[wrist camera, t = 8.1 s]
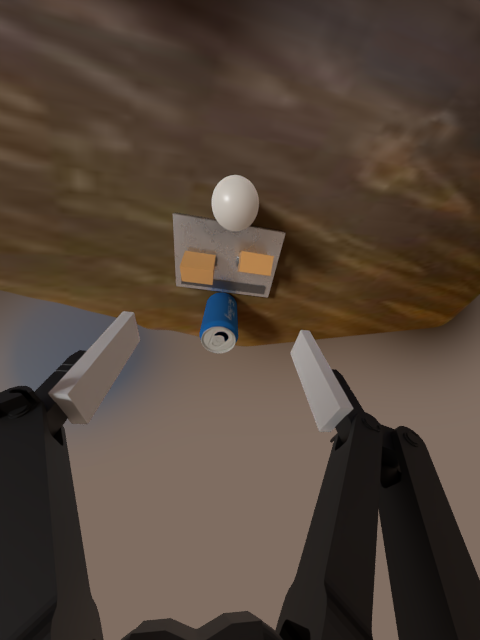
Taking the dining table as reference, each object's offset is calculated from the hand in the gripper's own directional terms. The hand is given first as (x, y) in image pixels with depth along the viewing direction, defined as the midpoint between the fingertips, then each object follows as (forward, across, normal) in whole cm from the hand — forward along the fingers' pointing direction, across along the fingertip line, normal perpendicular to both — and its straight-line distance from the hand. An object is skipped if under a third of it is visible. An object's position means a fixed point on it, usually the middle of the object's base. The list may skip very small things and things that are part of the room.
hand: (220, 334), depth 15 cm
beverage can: (+23, 0, -10) cm, 25 cm away
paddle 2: (+21, +5, 0) cm, 21 cm away
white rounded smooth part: (+23, 0, +9) cm, 24 cm away
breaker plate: (+23, 0, 0) cm, 23 cm away
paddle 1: (+21, -4, 0) cm, 21 cm away
